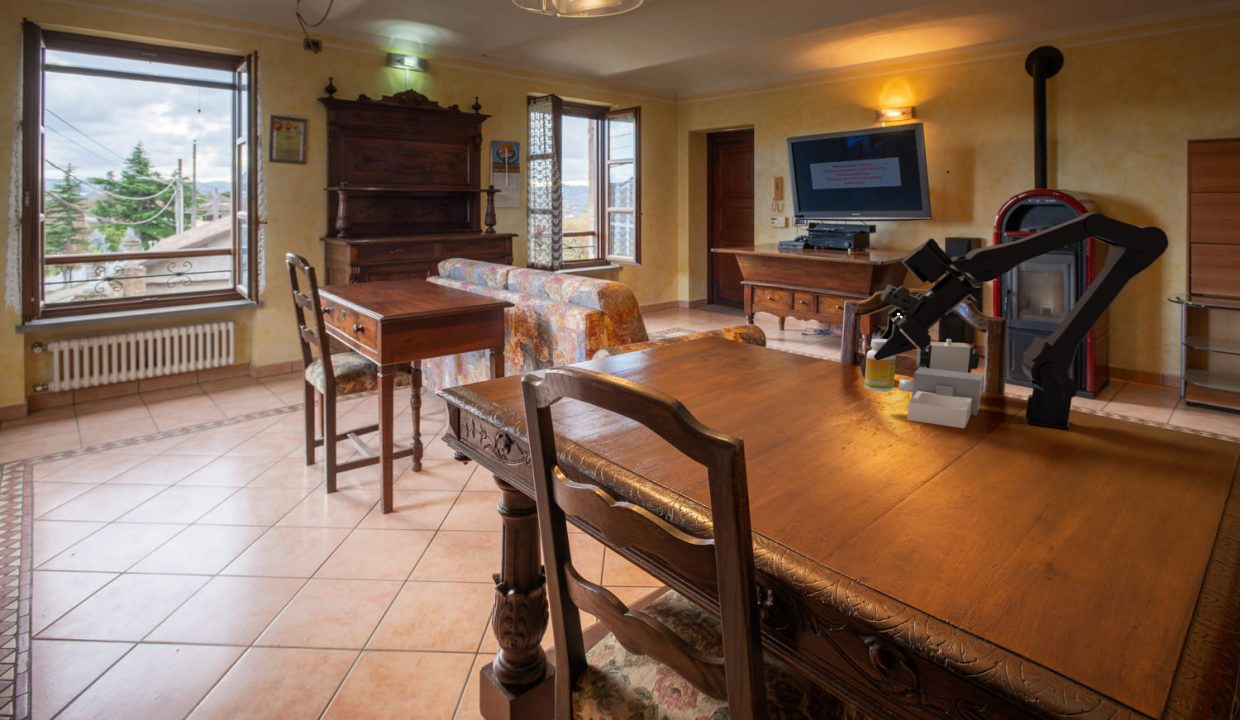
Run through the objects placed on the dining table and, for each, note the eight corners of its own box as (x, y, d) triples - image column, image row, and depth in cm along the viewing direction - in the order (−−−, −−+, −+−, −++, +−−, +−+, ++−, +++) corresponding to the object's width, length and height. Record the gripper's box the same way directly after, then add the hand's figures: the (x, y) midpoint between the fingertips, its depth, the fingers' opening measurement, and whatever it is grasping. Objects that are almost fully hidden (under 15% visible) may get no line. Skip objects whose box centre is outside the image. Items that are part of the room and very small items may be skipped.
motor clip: (979, 408, 142) (983, 374, 141) (970, 429, 128) (974, 392, 127) (901, 397, 150) (904, 365, 148) (885, 416, 136) (888, 381, 135)
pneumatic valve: (975, 397, 150) (981, 342, 148) (917, 394, 153) (922, 340, 150) (968, 391, 156) (974, 337, 153) (912, 387, 158) (917, 335, 156)
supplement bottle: (893, 393, 136) (897, 343, 134) (863, 390, 138) (867, 342, 135) (893, 386, 140) (897, 338, 138) (865, 384, 142) (868, 337, 140)
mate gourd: (887, 376, 169) (890, 336, 167) (897, 384, 161) (900, 341, 159) (856, 376, 169) (859, 335, 167) (865, 384, 162) (868, 341, 160)
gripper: (902, 266, 142) (842, 319, 147) (916, 274, 124) (847, 334, 129) (941, 306, 142) (880, 357, 147) (960, 320, 124) (890, 377, 129)
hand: (873, 355), depth 138 cm, fingers closed on supplement bottle, 5 cm apart
